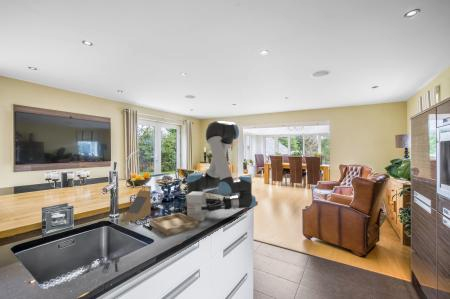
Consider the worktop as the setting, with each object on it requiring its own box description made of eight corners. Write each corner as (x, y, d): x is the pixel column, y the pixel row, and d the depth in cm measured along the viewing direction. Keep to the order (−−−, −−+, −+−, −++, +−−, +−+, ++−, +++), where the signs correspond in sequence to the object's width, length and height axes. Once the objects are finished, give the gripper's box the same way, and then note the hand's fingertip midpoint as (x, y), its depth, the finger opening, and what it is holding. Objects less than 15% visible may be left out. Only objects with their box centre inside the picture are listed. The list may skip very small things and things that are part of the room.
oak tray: (179, 217, 124) (179, 212, 124) (198, 226, 109) (198, 220, 109) (149, 225, 112) (149, 219, 112) (166, 236, 97) (166, 229, 97)
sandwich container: (121, 220, 121) (120, 194, 121) (140, 213, 136) (139, 190, 136) (132, 222, 118) (132, 195, 118) (151, 214, 133) (150, 190, 133)
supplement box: (192, 215, 126) (191, 191, 126) (207, 216, 124) (206, 191, 124) (187, 221, 117) (186, 194, 117) (202, 221, 115) (201, 195, 115)
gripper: (236, 215, 114) (196, 218, 108) (225, 203, 137) (192, 206, 132) (236, 201, 114) (196, 204, 108) (225, 192, 137) (191, 194, 132)
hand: (193, 205), depth 120 cm, fingers open, 12 cm apart
